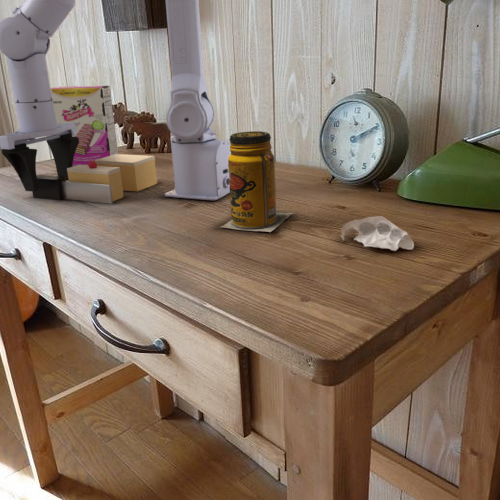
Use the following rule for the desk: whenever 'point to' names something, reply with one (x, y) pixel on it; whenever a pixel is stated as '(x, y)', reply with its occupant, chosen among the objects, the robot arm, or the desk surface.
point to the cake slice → (98, 177)
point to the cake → (132, 170)
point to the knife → (71, 190)
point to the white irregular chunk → (378, 233)
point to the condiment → (252, 183)
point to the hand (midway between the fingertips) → (49, 185)
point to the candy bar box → (87, 120)
